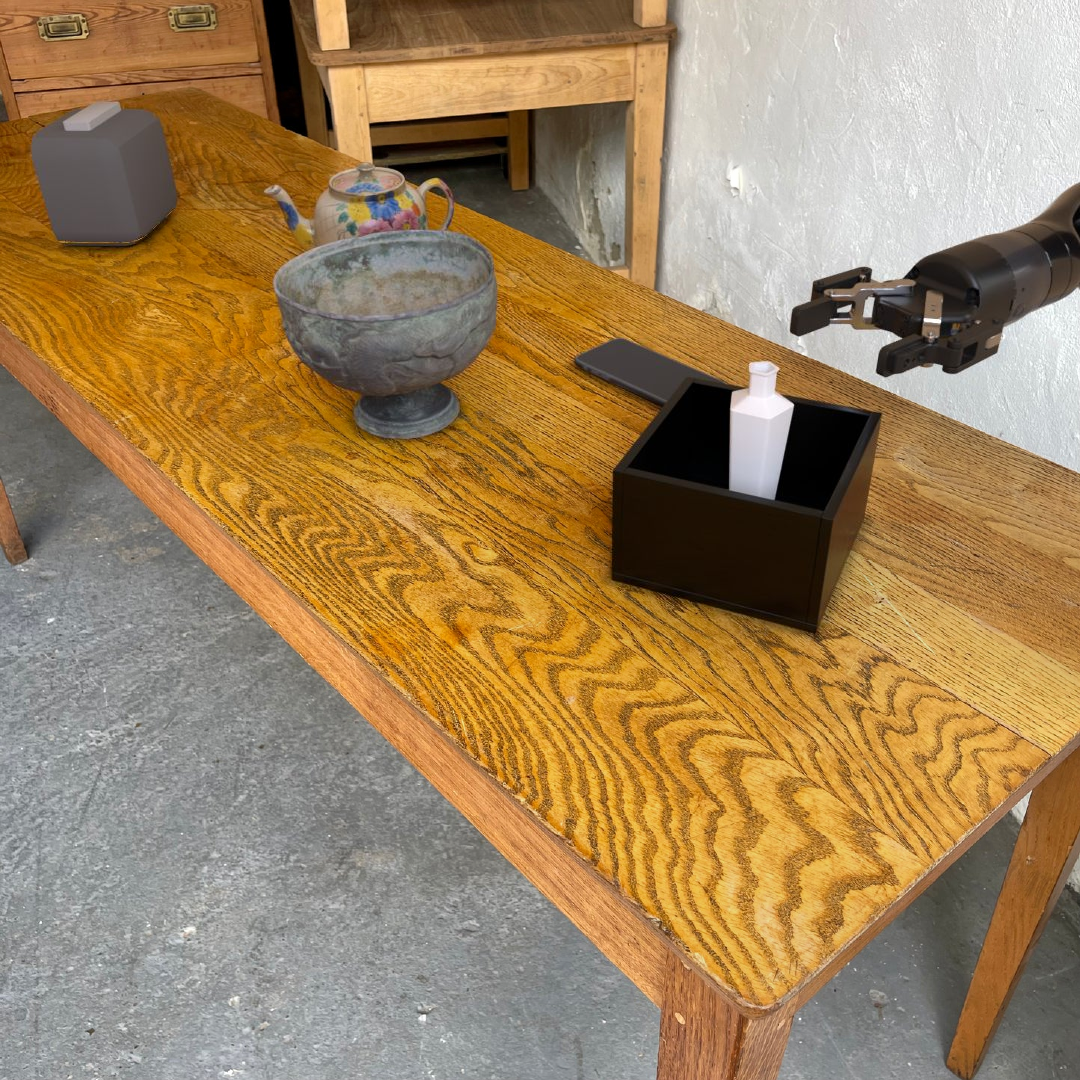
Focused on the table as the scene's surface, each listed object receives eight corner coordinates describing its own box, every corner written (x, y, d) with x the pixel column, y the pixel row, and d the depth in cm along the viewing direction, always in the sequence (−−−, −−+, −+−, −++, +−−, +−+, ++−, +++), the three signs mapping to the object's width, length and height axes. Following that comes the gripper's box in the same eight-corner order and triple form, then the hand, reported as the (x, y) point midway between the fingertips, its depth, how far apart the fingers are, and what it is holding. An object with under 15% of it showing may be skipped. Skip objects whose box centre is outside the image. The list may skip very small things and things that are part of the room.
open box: (864, 519, 89) (882, 412, 83) (815, 634, 78) (833, 519, 72) (681, 478, 95) (686, 376, 89) (610, 580, 84) (612, 470, 78)
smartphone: (682, 409, 103) (569, 357, 112) (681, 418, 103) (569, 366, 112) (732, 383, 107) (619, 334, 116) (731, 391, 108) (619, 342, 116)
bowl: (291, 383, 111) (266, 239, 103) (479, 357, 115) (469, 215, 106) (307, 485, 96) (279, 324, 87) (524, 450, 99) (517, 293, 91)
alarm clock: (111, 209, 157) (81, 94, 148) (188, 210, 156) (163, 94, 146) (59, 252, 143) (23, 128, 134) (142, 253, 142) (112, 128, 133)
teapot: (409, 239, 144) (399, 134, 136) (470, 268, 135) (463, 158, 127) (271, 279, 134) (252, 169, 126) (327, 313, 125) (310, 197, 117)
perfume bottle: (739, 518, 88) (756, 346, 80) (784, 541, 86) (806, 365, 77) (702, 542, 86) (715, 367, 77) (747, 566, 83) (766, 387, 74)
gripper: (913, 217, 91) (771, 265, 84) (1068, 269, 81) (923, 328, 74) (899, 303, 95) (762, 355, 88) (1044, 362, 86) (904, 425, 79)
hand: (836, 342), depth 81 cm, fingers open, 8 cm apart
